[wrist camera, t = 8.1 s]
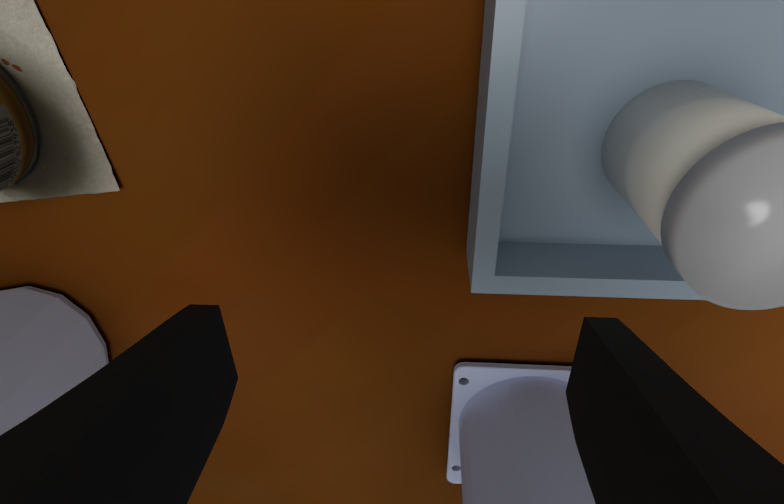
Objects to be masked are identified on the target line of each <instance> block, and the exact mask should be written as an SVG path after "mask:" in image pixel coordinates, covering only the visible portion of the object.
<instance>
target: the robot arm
mask: <svg viewBox="0 0 784 504" xmlns="http://www.w3.org/2000/svg"><path fill="white" fill-rule="evenodd" d="M461 378H467V379H461ZM237 380H238V376H237V372H236V368H235V364H234V360H233V357H232V353H231V349H230V345H229V341H228V338H227V334H226V330H225V326H224V323H223V319H222V315H221V311H220V307H219V305H192V304H190V305H188V306H187V307H185V308H184V309H182V310H181V311H179V312H178V313H176V314H175V315H174V316H172V317H171V318H169V319H168V320H167V321H165V322H164V323H162V324H161V325H160V326H158V327H157V328H156V329H154V330H153V331H152V332H150V333H149V334H148V335H146V336H145V337H143V338H142V339H141V340H139V341H138V342H137V343H135V344H134V345H133V346H131V347H130V348H128V349H127V350H126V351H124V352H123V353H122V354H120V355H119V356H117V357H116V358H115V359H113V360H112V361H111V362H109V363H108V364H106V365H105V366H104V367H102V368H101V369H100V370H98V371H97V372H95V373H94V374H93V375H91V376H90V377H88V378H87V379H85V380H84V381H82V382H81V383H79V384H78V385H76V386H75V387H73V388H72V389H71V390H69V391H68V392H66V393H65V394H63V395H62V396H60V397H59V398H57V399H56V400H54V401H53V402H51V403H50V404H48V405H47V406H45V407H44V408H42V409H41V410H39V411H38V412H37V413H35V414H34V415H32V416H30V417H29V418H27V419H26V420H24V421H23V422H21V423H19V424H18V425H16V426H15V427H13V428H11V429H10V430H8V431H7V432H5V433H3V434H2V435H0V504H187V502H188V500H189V498H190V496H191V493H192V491H193V489H194V487H195V485H196V483H197V481H198V479H199V476H200V474H201V472H202V470H203V468H204V466H205V464H206V461H207V459H208V457H209V455H210V453H211V451H212V448H213V446H214V444H215V442H216V440H217V437H218V435H219V433H220V431H221V428H222V426H223V424H224V421H225V418H226V415H227V412H228V409H229V406H230V403H231V400H232V396H233V393H234V390H235V386H236V383H237ZM447 480H448V481H449V482H451V483H455V484H462V501H463V504H784V465H783V464H782V463H781V462H779V461H778V460H777V459H776V458H774V457H773V456H772V455H771V454H769V453H768V452H767V451H766V450H765V449H763V448H762V447H761V446H760V445H758V444H757V443H756V442H755V441H754V440H752V439H751V438H750V437H749V436H747V435H746V434H745V433H744V432H743V431H741V430H740V429H739V428H738V427H737V426H735V425H734V424H733V423H732V422H731V421H730V420H728V419H727V418H726V417H725V416H724V415H723V414H721V413H720V412H719V411H718V410H717V409H716V408H714V407H713V406H712V405H711V404H710V403H709V402H708V401H707V400H705V399H704V398H703V397H702V396H701V395H700V394H699V393H698V392H696V391H695V390H694V389H693V388H692V387H691V386H690V385H689V384H688V383H687V382H685V381H684V380H683V379H682V378H681V377H680V376H679V375H678V374H677V373H676V372H675V371H673V370H672V369H671V368H670V367H669V366H668V365H667V364H666V363H665V362H664V361H663V360H662V359H661V358H660V357H659V356H657V355H656V354H655V353H654V352H653V351H652V350H651V349H650V348H649V347H648V346H647V345H646V344H645V343H644V342H643V341H642V340H640V339H639V338H638V337H637V336H636V335H635V334H634V333H633V332H632V331H631V330H630V329H629V328H628V327H627V326H625V325H624V324H623V323H622V322H621V321H620V320H619V319H617V318H596V317H584V320H583V324H582V328H581V332H580V336H579V340H578V344H577V348H576V352H575V356H574V360H573V364H572V366H553V365H529V364H504V363H480V362H460V363H458V364H456V365H455V367H454V374H453V388H452V402H451V417H450V431H449V445H448V459H447Z"/></svg>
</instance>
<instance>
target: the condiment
mask: <svg viewBox="0 0 784 504" xmlns="http://www.w3.org/2000/svg"><path fill="white" fill-rule="evenodd" d="M1 59H5V60H6V61H8V62H9V65H5V64H4V63H3V62H2V60H1ZM13 64H15V65H17V66H19V67H20V68H21V70H22V72H20V71H18V70H16V69H14V68H13V67H12V65H13ZM42 165H44V166H45V167H46V168H45V169H43V168H42ZM112 191H120V190H119V187H118V184H117V182H116V180H115V177H114V175H113V173H112V168H111V165H110V163H109V161H108V159H107V157H106V154H105V152H104V150H103V147H102V145H101V143H100V141H99V139H98V137H97V135H96V132H95V128H94V126H93V124H92V122H91V120H90V118H89V116H88V113H87V111H86V109H85V107H84V105H83V103H82V101H81V99H80V97H79V94H78V92H77V88H76V85H75V82H74V81H73V80H72V78H71V77H70V75H69V73H68V71H67V70H66V67H65V66H64V64H63V61H62V59H61V57H60V55H59V53H58V50H57V47H56V45H55V43H54V40H53V38H52V36H51V34H50V32H49V31H48V29H47V28H46V26H45V24H44V21H43V19H42V17H41V15H40V13H39V11H38V9H37V7H36V5H35V2H34V0H0V203H1V202H10V201H19V200H35V199H48V198H53V197H61V196H70V195H80V194H92V193H104V192H112Z"/></svg>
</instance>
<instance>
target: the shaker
mask: <svg viewBox="0 0 784 504" xmlns="http://www.w3.org/2000/svg"><path fill="white" fill-rule="evenodd" d="M602 166H603V170H604V173H605V175H606V177H607V179H608V180H609V182H610V183H611V185H612V186H613V187H614V188H615V189H616V191H617V192H618V193H619V194H620V195H621V196H622V198H623V199H624V200H625V201H626V202H627V204H628V205H629V206H630V207H631V208H632V209H633V211H634V212H635V213H636V214H637V215H638V217H639V218H640V219H641V220H642V221H643V222H644V224H645V225H646V226H647V227H648V228H649V230H650V231H651V232H652V233H653V234H654V235H655V237H656V238H657V239H658V240H659V241H660V243H661V244H662V246H663V250H664V253H665V255H666V257H667V259H668V260H669V262H670V263H671V264H672V266H673V267H674V268H675V270H676V271H677V272H678V273H679V274H680V276H681V277H682V278H683V279H684V281H685V282H686V283H687V284H688V285H689V287H690V288H691V289H692V290H693V291H694V292H695V293H697V294H698V295H699V296H701V297H702V298H704V299H705V300H707V301H709V302H712V303H714V304H717V305H720V306H723V307H727V308H732V309H740V310H762V309H771V308H777V307H781V306H784V116H783V115H781V114H779V113H776V112H774V111H771V110H769V109H767V108H764V107H762V106H759V105H757V104H754V103H752V102H750V101H747V100H745V99H742V98H740V97H738V96H735V95H733V94H730V93H728V92H726V91H723V90H721V89H718V88H716V87H713V86H711V85H709V84H706V83H703V82H699V81H694V80H675V81H670V82H666V83H662V84H659V85H656V86H654V87H652V88H650V89H648V90H646V91H644V92H642V93H641V94H639V95H638V96H636V97H635V98H634V99H632V100H631V101H630V102H629V103H628V104H627V105H625V106H624V107H623V109H622V110H621V111H620V112H619V113H618V114H617V116H616V117H615V118H614V120H613V121H612V123H611V125H610V126H609V128H608V130H607V133H606V135H605V138H604V142H603V146H602Z"/></svg>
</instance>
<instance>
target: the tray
mask: <svg viewBox="0 0 784 504" xmlns="http://www.w3.org/2000/svg"><path fill="white" fill-rule="evenodd" d="M675 80H694V81H699V82H703V83H706V84H709V85H711V86H713V87H716V88H718V89H721V90H723V91H726V92H728V93H730V94H733V95H735V96H738V97H740V98H742V99H745V100H747V101H750V102H752V103H754V104H757V105H759V106H762V107H764V108H767V109H769V110H771V111H774V112H776V113H779V114H781V115H783V116H784V0H485V9H484V23H483V36H482V49H481V62H480V76H479V89H478V102H477V115H476V129H475V142H474V155H473V169H472V182H471V195H470V208H469V222H468V235H467V248H466V254H467V263H468V272H469V280H470V289H471V293H488V294H521V295H554V296H587V297H620V298H652V299H685V300H705V299H704V298H702V297H701V296H699V295H698V294H697V293H695V292H694V291H693V290H692V289H691V288H690V287H689V285H688V284H687V283H686V282H685V281H684V279H683V278H682V277H681V276H680V274H679V273H678V272H677V271H676V270H675V268H674V267H673V266H672V264H671V263H670V262H669V260H668V259H667V257H666V255H665V253H664V250H663V246H662V244H661V243H660V241H659V240H658V239H657V238H656V237H655V235H654V234H653V233H652V232H651V231H650V230H649V228H648V227H647V226H646V225H645V224H644V222H643V221H642V220H641V219H640V218H639V217H638V215H637V214H636V213H635V212H634V211H633V209H632V208H631V207H630V206H629V205H628V204H627V202H626V201H625V200H624V199H623V198H622V196H621V195H620V194H619V193H618V192H617V191H616V189H615V188H614V187H613V186H612V185H611V183H610V182H609V180H608V179H607V177H606V175H605V173H604V170H603V166H602V146H603V142H604V138H605V135H606V133H607V130H608V128H609V126H610V125H611V123H612V121H613V120H614V118H615V117H616V116H617V114H618V113H619V112H620V111H621V110H622V109H623V107H624V106H625V105H627V104H628V103H629V102H630V101H631V100H632V99H634V98H635V97H636V96H638V95H639V94H641V93H642V92H644V91H646V90H648V89H650V88H652V87H654V86H656V85H659V84H662V83H666V82H670V81H675Z"/></svg>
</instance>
